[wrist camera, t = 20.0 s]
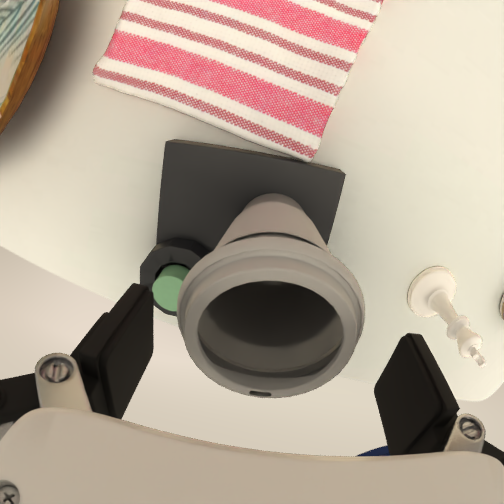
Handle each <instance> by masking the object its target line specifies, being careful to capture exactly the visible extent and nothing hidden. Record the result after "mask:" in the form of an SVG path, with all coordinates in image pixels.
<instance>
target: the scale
mask: <svg viewBox="0 0 504 504" xmlns="http://www.w3.org/2000/svg"><path fill="white" fill-rule="evenodd" d="M345 175H346V174H345V173H344V172H342V171H341V170H340V169H336V168H332V167H328V166H323V165H319V164H315V163H310V162H309V163H307V162H303V161H301V160H296V159H292V158H287V157H282V156H277V155H272V154H266V153H261V152H256V151H250V150H244V149H238V148H232V147H226V146H219V145H213V144H206V143H199V142H191V141H183V140H175V139H174V140H170V141H166V143H165V151H164V160H163V169H162V179H161V189H160V201H159V213H158V228H157V245H156V246H155V247H154V248H153V250H152V251H151V252H150V253H149V255H148V256H147V258H146V259H145V260H144V262H143V263H142V265H141V266H140V285H144V286H148V287H149V291H152V287H153V284H154V282H155V281H156V279H157V278H158V276H159V275H160V273H161V272H162V270H163V269H164V268H166V267H167V266H170V265H181V266H184V267H186V268H188V269H189V270H191V269H192V268H193V267H194V266H195V264H196V263H198V262H199V261H200V260H201V259H202V258H204V257H205V256H206V255H207V254H209V253H211V252H212V251H214V249H215V248H216V246H217V245H218V243H219V242H220V240H221V239H222V237H223V236H224V234H225V233H226V231H227V230H228V228H229V227H230V225H231V224H232V222H233V221H234V220H235V218H236V217H237V216H238V215H239V214H241V213H242V211H243V210H244V208H245V207H246V205H247V204H248V203H249V202H250V201H252V200H253V199H255V198H256V197H258V196H261V195H264V194H270V193H276V194H282V195H285V196H288V197H290V198H292V199H293V200H295V201H296V202H297V203H298V204H299V205H300V206H301V208H302V209H303V211H304V212H305V214H306V215H307V216H308V217H309V218H310V220H311V221H312V222H313V224H314V225H315V227H316V229H317V230H318V232H319V234H320V235H321V237H322V239H323V241H324V242H325V244H326V246H327V243H328V240H329V236H330V233H331V229H332V225H333V222H334V218H335V214H336V211H337V207H338V203H339V199H340V195H341V191H342V187H343V183H344V179H345ZM153 305H154V306H155V307H157V308H158V309H159V310H161V311H162V312H164V313H165V314H168V315H173V316H177V311H170V310H167V309H165V308H163V307H161V306H160V305H159V304H158V303H157V302H156V300H155V299H154V302H153Z"/></svg>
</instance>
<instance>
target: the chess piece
mask: <svg viewBox="0 0 504 504" xmlns="http://www.w3.org/2000/svg"><path fill="white" fill-rule="evenodd" d="M455 292H456V281H455V279H454V277H453V275H452V273H451V272H450V271H449V270H448V269H446V268H444V267H440V266H436V267H431V268H428V269H426V270H424V271H423V272H422V273H420V274H419V275H418V276H417V277H416V278H415V279H414V281H413V282H412V284H411V286H410V288H409V291H408V304H409V306H410V308H411V309H412V310H413V311H414V312H415V313H416V314H417V315H419V316H421V317H432V316H435V315H438V314H439V315H440V316H441V317H442V319H443V320H444V321H445V322H446V323H447V324H448V327H447V331H446V334H447V336H448V337H449V338H450V339H453V340H455V339H457V343H458V349H459V354H460V356H461V357H464V358H467V357H471V356H472V358H473V359H475V360H476V362H477V363H478V365H479V366H480V367H481V368H483V367H484V366H485V365H486V363H485V359H484V358H483V356H481V355H480V353H479V352H478V350H479V349H480V347H481V345H482V338H481V336H480V335H478V334H477V333H474V332H472V331H471V330H470V329H469V326H470V322H469V319H468V317H466V316H458V315H457V314H456V312H455V310H454V308H453V306H452V304H451V302H452V300H453V298H454V296H455Z"/></svg>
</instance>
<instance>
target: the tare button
mask: <svg viewBox="0 0 504 504" xmlns="http://www.w3.org/2000/svg"><path fill="white" fill-rule="evenodd" d="M189 271H190V270H189V269H188V268H186V267H184V266H181V265H170V266H167V267H166V268H164V269H163V270H162V272H161V273H160V275H159V276H158V278H157V279H156V281H155V282H154V284H153V287H152V292H153V294H154V299H155V300H156V302H157V303H158V304H159V305H160V306H161V307H163V308H165V309H167V310H170V311H177V300H178V294H179V291H180V288H181V285H182V283H183V281H184V279H185V277H186V276H187V274H188V273H189Z"/></svg>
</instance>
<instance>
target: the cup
mask: <svg viewBox="0 0 504 504" xmlns="http://www.w3.org/2000/svg"><path fill="white" fill-rule="evenodd" d="M177 319H178V325H179V329H180V331H181V334H182V336H183V339H184V341H185V345H186V348H187V350H188V353H189V355H190V357H191V358H192V360H193V361H194V363H195V364H196V366H197V367H198V368H199V369H200V370H201V371H202V372H203V373H204V374H205V375H206V376H207V377H209V378H210V379H212V380H213V381H214V382H216V383H217V384H219V385H221V386H223V387H225V388H227V389H229V390H231V391H235V392H238V393H241V394H244V395H248V396H254V397H260V398H282V397H290V396H295V395H299V394H303V393H306V392H309V391H311V390H314V389H316V388H318V387H320V386H322V385H324V384H325V383H327V382H328V381H330V380H331V379H333V378H334V377H335V376H336V375H338V374H339V373H340V372H341V370H342V369H343V368H344V367H345V366H346V364H347V363H348V362H349V360H350V358H351V356H352V354H353V352H354V349H355V346H356V344H357V342H358V340H359V338H360V336H361V334H362V330H363V326H364V320H365V304H364V298H363V294H362V291H361V289H360V286H359V284H358V282H357V280H356V279H355V277H354V276H353V274H352V273H351V272H350V271H349V269H348V268H347V267H346V266H345V265H344V264H343V263H342V262H341V261H340V260H338V259H337V258H335V257H334V256H333V255H332V254H331V253H330V251H329V249H328V247H327V246H326V244H325V242H324V241H323V239H322V237H321V235H320V234H319V232H318V230H317V229H316V227H315V225H314V224H313V222H312V221H311V220H310V218H309V217H308V216H307V215H306V214H305V212H304V211H303V209H302V208H301V206H300V205H299V204H298V203H297V202H296V201H295V200H293V199H292V198H290V197H288V196H285V195H282V194H276V193H270V194H264V195H261V196H258V197H256V198H255V199H253V200H252V201H250V202H249V203H248V204H247V205H246V207H245V208H244V210H243V211H242V213H241V214H239V215H238V216H237V217H236V218H235V220H234V221H233V222H232V224H231V225H230V227H229V228H228V230H227V231H226V233H225V234H224V236H223V237H222V239H221V240H220V242H219V243H218V245H217V246H216V248H215V249H214V251H212V252H211V253H209V254H207V255H206V256H205V257H204V258H202V259H201V260H200V261H199V262H198V263H196V264H195V266H194V267H193V268H192V269H191V270H190V271H189V273H188V274H187V276H186V277H185V279H184V281H183V283H182V285H181V288H180V291H179V294H178V300H177Z"/></svg>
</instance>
